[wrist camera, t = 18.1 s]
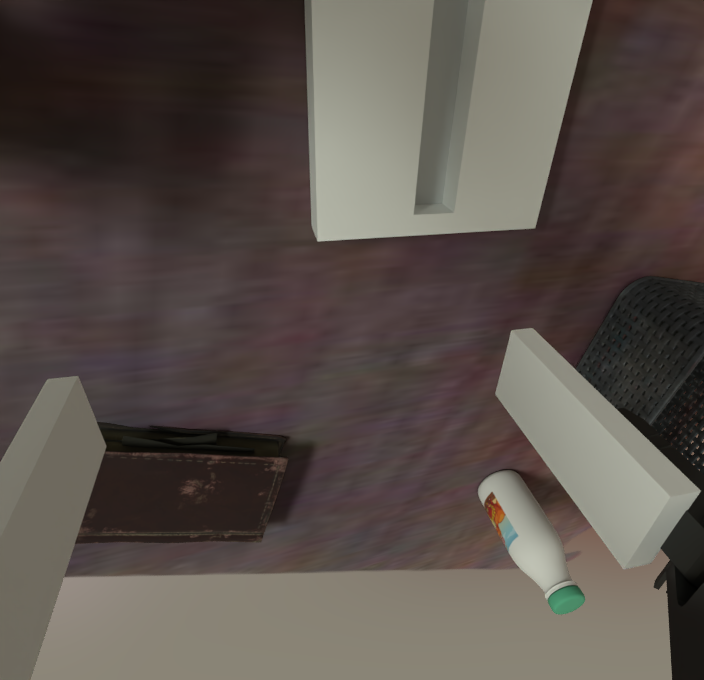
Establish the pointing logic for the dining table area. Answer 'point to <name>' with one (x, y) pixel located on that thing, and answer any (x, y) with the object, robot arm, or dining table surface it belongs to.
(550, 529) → the milk bottle
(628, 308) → the storage bin
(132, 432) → the diary
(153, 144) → the dining table surface
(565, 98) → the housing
